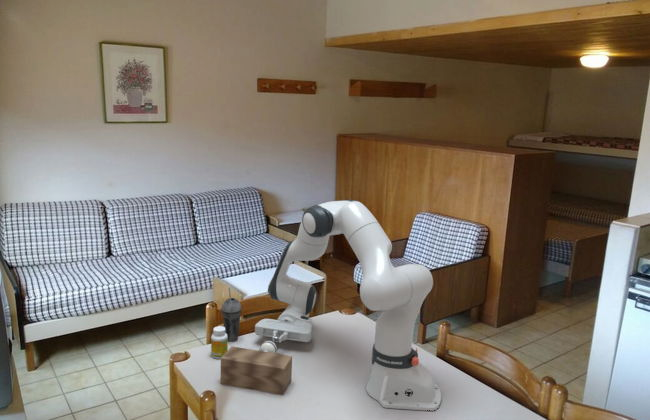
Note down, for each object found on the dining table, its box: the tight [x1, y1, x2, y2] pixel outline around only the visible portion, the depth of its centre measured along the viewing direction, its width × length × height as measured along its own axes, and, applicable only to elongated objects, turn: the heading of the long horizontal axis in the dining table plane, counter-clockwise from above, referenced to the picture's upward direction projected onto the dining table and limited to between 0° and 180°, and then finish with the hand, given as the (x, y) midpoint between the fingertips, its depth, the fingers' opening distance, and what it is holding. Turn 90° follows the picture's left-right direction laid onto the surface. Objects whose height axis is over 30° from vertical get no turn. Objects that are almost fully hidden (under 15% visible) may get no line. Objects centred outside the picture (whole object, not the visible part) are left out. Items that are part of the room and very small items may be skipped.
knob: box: [258, 340, 278, 354], centre depth 158 cm, size 5×9×5 cm, turn 166°
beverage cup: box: [221, 287, 243, 343], centre depth 178 cm, size 7×7×20 cm
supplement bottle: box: [210, 325, 229, 360], centre depth 167 cm, size 5×5×10 cm
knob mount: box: [220, 345, 293, 396], centre depth 152 cm, size 20×8×8 cm, turn 76°
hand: (276, 340), depth 169 cm, fingers closed
